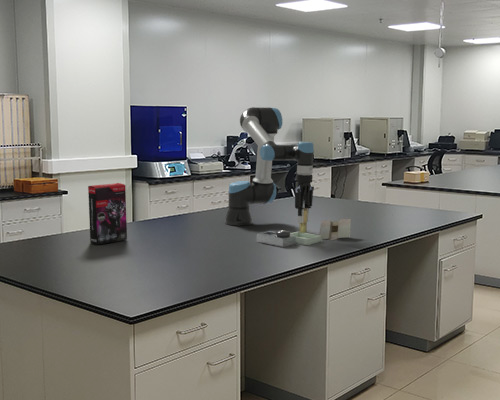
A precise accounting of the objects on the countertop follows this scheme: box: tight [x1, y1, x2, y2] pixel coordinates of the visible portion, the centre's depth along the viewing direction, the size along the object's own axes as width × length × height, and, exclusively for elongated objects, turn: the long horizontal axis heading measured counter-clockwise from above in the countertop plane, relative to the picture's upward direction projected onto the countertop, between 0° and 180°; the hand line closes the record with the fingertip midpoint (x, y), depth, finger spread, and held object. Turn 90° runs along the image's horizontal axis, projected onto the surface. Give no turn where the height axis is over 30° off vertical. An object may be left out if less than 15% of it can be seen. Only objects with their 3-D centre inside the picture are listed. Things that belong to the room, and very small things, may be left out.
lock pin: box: [298, 206, 308, 233], centre depth 297 cm, size 4×4×12 cm
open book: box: [318, 218, 352, 241], centre depth 311 cm, size 16×9×15 cm
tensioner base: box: [256, 229, 296, 248], centre depth 294 cm, size 16×10×7 cm, turn 49°
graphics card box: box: [87, 182, 128, 246], centre depth 286 cm, size 17×7×27 cm, turn 137°
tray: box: [290, 231, 322, 246], centre depth 299 cm, size 14×12×3 cm
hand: (303, 221), depth 298 cm, fingers closed on lock pin, 3 cm apart
